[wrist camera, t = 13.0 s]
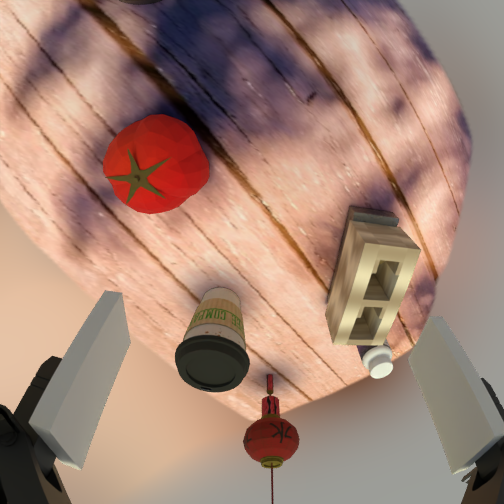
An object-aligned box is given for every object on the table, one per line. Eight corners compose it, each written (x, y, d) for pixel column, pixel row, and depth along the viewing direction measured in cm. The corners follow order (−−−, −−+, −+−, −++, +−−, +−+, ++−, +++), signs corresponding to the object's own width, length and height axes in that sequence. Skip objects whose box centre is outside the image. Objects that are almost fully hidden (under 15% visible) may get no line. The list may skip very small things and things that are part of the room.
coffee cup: (258, 285, 49) (258, 354, 36) (243, 330, 53) (240, 400, 40) (196, 271, 48) (175, 337, 35) (187, 318, 52) (169, 386, 39)
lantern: (256, 355, 56) (254, 510, 30) (301, 366, 58) (317, 512, 31) (238, 384, 60) (231, 521, 34) (281, 393, 62) (287, 525, 35)
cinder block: (349, 220, 41) (365, 242, 35) (400, 227, 41) (421, 249, 35) (325, 314, 48) (333, 344, 42) (370, 316, 49) (382, 345, 42)
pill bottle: (351, 344, 55) (363, 383, 46) (355, 322, 52) (370, 361, 44) (377, 341, 55) (392, 378, 46) (383, 319, 52) (400, 357, 44)
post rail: (349, 205, 43) (363, 223, 37) (392, 212, 43) (410, 230, 37) (326, 299, 50) (334, 324, 44) (365, 301, 50) (376, 325, 44)
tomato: (204, 204, 43) (184, 247, 31) (123, 182, 42) (78, 215, 30) (228, 124, 38) (214, 135, 26) (140, 103, 36) (93, 108, 25)
